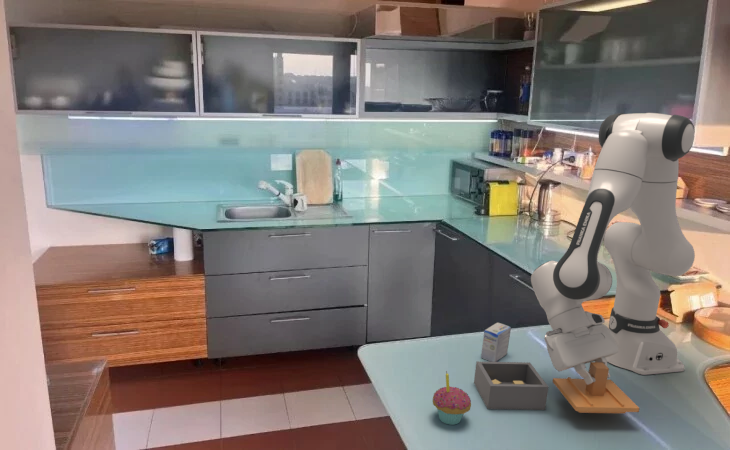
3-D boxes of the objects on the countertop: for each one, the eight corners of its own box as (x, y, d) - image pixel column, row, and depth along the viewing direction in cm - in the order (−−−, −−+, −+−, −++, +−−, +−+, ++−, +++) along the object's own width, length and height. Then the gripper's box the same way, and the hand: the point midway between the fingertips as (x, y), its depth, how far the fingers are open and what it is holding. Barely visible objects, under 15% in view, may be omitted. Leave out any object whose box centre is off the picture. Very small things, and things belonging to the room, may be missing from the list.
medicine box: (493, 349, 165) (497, 321, 163) (507, 354, 162) (511, 326, 160) (480, 358, 159) (483, 329, 157) (494, 363, 156) (498, 334, 154)
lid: (608, 388, 141) (615, 353, 139) (637, 418, 129) (645, 380, 127) (551, 387, 140) (557, 351, 137) (574, 416, 127) (581, 378, 125)
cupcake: (439, 431, 124) (445, 381, 121) (424, 410, 131) (429, 362, 129) (475, 427, 126) (481, 378, 123) (458, 406, 134) (464, 359, 131)
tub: (526, 383, 146) (530, 362, 145) (545, 409, 135) (548, 386, 133) (473, 382, 145) (476, 361, 144) (487, 409, 134) (490, 386, 132)
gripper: (550, 327, 130) (579, 386, 125) (606, 314, 141) (635, 367, 135) (533, 337, 135) (560, 394, 129) (588, 324, 146) (615, 376, 140)
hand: (599, 380), depth 132 cm, fingers closed on lid, 4 cm apart
